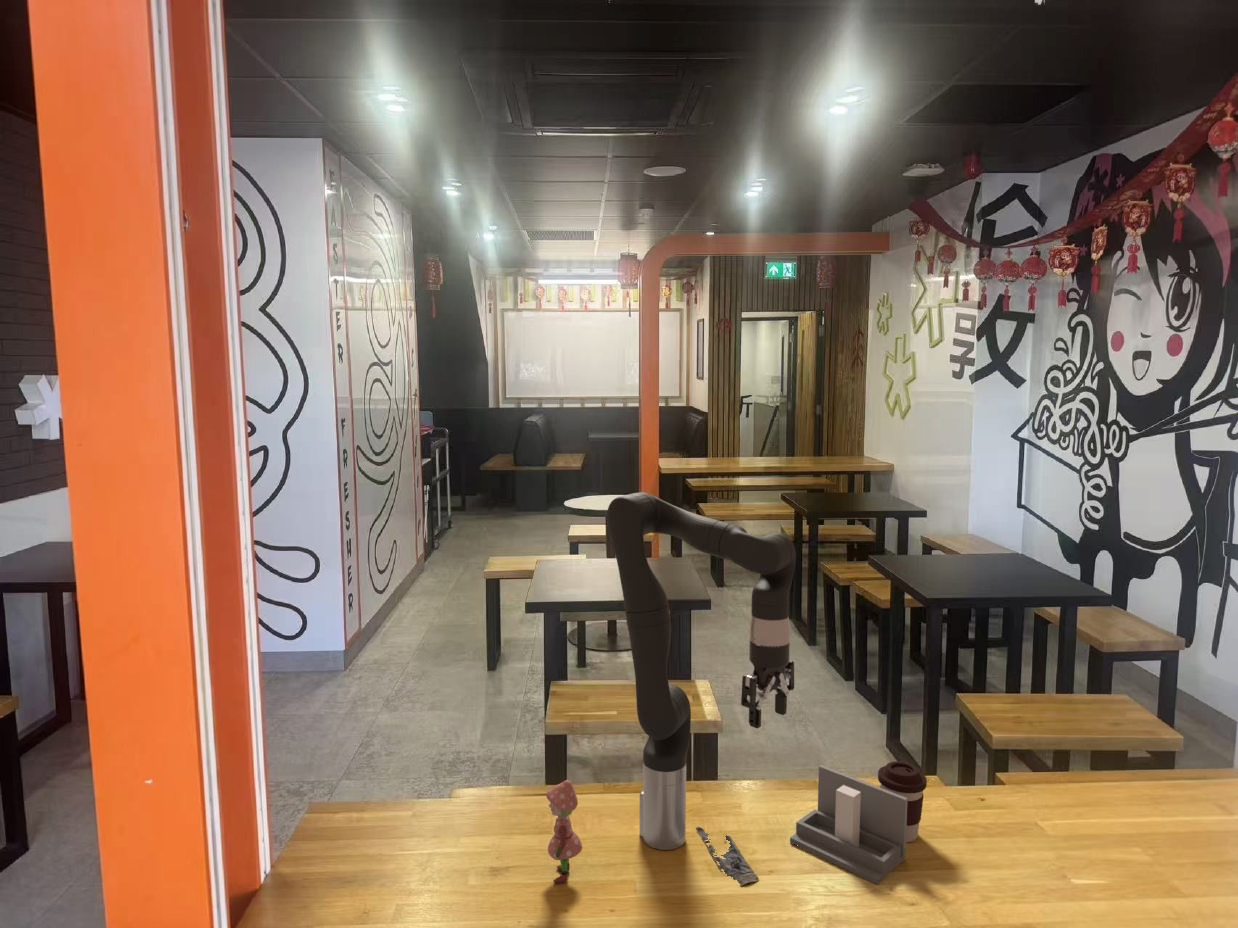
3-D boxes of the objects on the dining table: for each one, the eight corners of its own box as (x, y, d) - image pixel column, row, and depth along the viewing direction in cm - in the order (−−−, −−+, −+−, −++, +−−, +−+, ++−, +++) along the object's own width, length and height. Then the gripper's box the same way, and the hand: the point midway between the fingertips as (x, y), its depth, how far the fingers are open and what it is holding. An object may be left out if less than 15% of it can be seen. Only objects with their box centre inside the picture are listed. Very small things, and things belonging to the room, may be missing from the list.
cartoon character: (579, 893, 150) (578, 794, 148) (542, 891, 151) (542, 792, 149) (585, 861, 160) (584, 768, 158) (550, 860, 161) (550, 767, 159)
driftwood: (761, 886, 153) (761, 876, 153) (728, 891, 152) (728, 881, 151) (725, 830, 173) (725, 821, 173) (695, 833, 172) (695, 824, 172)
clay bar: (834, 844, 164) (836, 789, 163) (841, 838, 166) (843, 784, 165) (851, 852, 161) (853, 797, 160) (859, 846, 164) (860, 791, 162)
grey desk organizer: (789, 842, 167) (791, 783, 166) (819, 821, 175) (821, 764, 174) (877, 884, 153) (879, 820, 152) (905, 858, 161) (907, 798, 160)
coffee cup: (874, 841, 168) (876, 774, 166) (877, 817, 177) (879, 754, 175) (923, 851, 164) (926, 783, 162) (924, 826, 173) (927, 762, 172)
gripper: (774, 626, 157) (772, 704, 158) (730, 642, 147) (729, 725, 148) (806, 634, 151) (805, 715, 153) (764, 651, 141) (762, 737, 143)
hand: (767, 720), depth 151 cm, fingers open, 8 cm apart
